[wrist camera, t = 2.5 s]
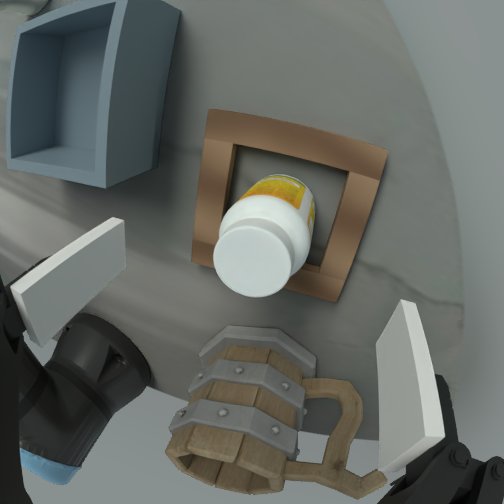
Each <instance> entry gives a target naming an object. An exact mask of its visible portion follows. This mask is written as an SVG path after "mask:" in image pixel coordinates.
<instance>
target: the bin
mask: <svg viewBox="0 0 504 504" xmlns="http://www.w3.org/2000/svg"><path fill="white" fill-rule="evenodd" d="M180 13H181V10H179V9H177V8H175V7H173V6H171V5H169V4H167V3H165V2H164V1H162V0H80V1H77V2H74V3H71V4H68V5H66V6H63V7H60V8H58V9H55V10H53V11H50V12H48V13H45V14H43V15H41V16H38V17H36V18H34V19H32V20H30V21H28V22H25V23H23V24H21V25H19V26H17V30H16V35H15V40H14V46H13V51H12V57H11V64H10V72H9V81H8V92H7V107H6V157H7V168H9V169H14V170H19V171H24V172H29V173H34V174H39V175H44V176H49V177H54V178H59V179H64V180H68V181H73V182H78V183H82V184H87V185H92V186H96V187H101V188H105V189H106V188H108V187H110V186H113V185H115V184H117V183H119V182H122V181H124V180H126V179H129V178H131V177H133V176H136V175H138V174H141V173H143V172H145V171H148V170H150V169H153V168H155V167H158V156H159V145H160V135H161V125H162V117H163V109H164V101H165V94H166V87H167V80H168V74H169V68H170V62H171V57H172V51H173V46H174V41H175V36H176V31H177V26H178V22H179V17H180Z"/></svg>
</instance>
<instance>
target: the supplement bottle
mask: <svg viewBox="0 0 504 504" xmlns="http://www.w3.org/2000/svg"><path fill="white" fill-rule="evenodd" d="M315 212H316V208H315V201H314V198H313V195H312V193H311V192H310V190H309V189H308V187H307V186H306V185H305V184H304V183H302V182H301V181H300V180H298V179H296V178H294V177H291V176H288V175H281V174H276V175H270V176H267V177H265V178H263V179H261V180H260V181H258V182H257V183H256V184H255V185H254V186H253V187H251V188H250V189H249V190H248V191H247V192H246V193H245V194H244V195H243V196H242V197H241V198H240V199H239V200H238V201H237V202H236V203H235V204H234V205H233V206H232V207H231V208H230V209H229V210H228V211H227V213H226V214H225V216H224V218H223V220H222V222H221V225H220V230H219V240H218V242H217V244H216V246H215V249H214V254H213V261H214V266H215V269H216V272H217V274H218V276H219V277H220V279H221V280H222V281H223V282H224V283H225V285H227V286H228V287H229V288H230V289H232V290H233V291H235V292H237V293H239V294H242V295H244V296H248V297H265V296H269V295H272V294H274V293H276V292H278V291H279V290H280V289H282V288H283V286H284V285H285V284H286V283H287V281H288V279H289V277H290V276H292V275H293V274H295V273H296V272H297V271H298V270H299V269H300V268H301V267H302V265H303V264H304V262H305V261H306V259H307V256H308V253H309V250H310V245H311V239H312V233H313V227H314V221H315Z"/></svg>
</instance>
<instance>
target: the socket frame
mask: <svg viewBox="0 0 504 504" xmlns="http://www.w3.org/2000/svg"><path fill="white" fill-rule="evenodd" d="M237 144H239V145H244V146H249V147H254V148H259V149H264V150H268V151H273V152H277V153H282V154H286V155H290V156H294V157H298V158H302V159H306V160H310V161H314V162H318V163H322V164H325V165H329V166H332V167H336V168H340V169H343V170H346V171H348V173H347V177H346V181H345V184H344V188H343V191H342V195H341V198H340V202H339V205H338V209H337V212H336V215H335V219H334V222H333V225H332V229H331V232H330V235H329V238H328V241H327V245H326V248H325V251H324V254H323V257H322V260H321V263H320V266H315V265H312V264H308V263H304V264H303V265H302V267H301V268H300V269H299V270H298V271H297V272H296V273H295V274H293V275H292V276H290V277H289V279H288V281H287V283H286V284H285V285H284V286H283V288H284V289H287V290H291V291H295V292H298V293H302V294H305V295H309V296H313V297H317V298H320V299H324V300H328V301H331V302H335V303H336V302H337V299H338V297H339V295H340V292H341V290H342V287H343V285H344V282H345V280H346V277H347V275H348V272H349V270H350V267H351V264H352V262H353V259H354V256H355V254H356V251H357V248H358V245H359V243H360V240H361V237H362V234H363V231H364V229H365V226H366V223H367V220H368V217H369V214H370V211H371V208H372V205H373V201H374V198H375V195H376V192H377V189H378V185H379V182H380V179H381V175H382V172H383V168H384V165H385V161H386V158H387V154H388V150H386V149H384V148H381V147H378V146H375V145H372V144H368V143H365V142H362V141H359V140H356V139H352V138H349V137H345V136H342V135H338V134H335V133H331V132H327V131H323V130H319V129H316V128H311V127H307V126H303V125H299V124H295V123H290V122H285V121H281V120H276V119H271V118H266V117H260V116H255V115H249V114H243V113H237V112H231V111H224V110H217V109H209V111H208V117H207V124H206V131H205V138H204V145H203V152H202V160H201V168H200V176H199V184H198V193H197V202H196V212H195V222H194V233H193V244H192V256H191V262H194V263H197V264H201V265H204V266H207V267H211V268H214V269H215V266H214V261H213V254H214V249H215V246H216V244H217V242H218V240H219V230H220V225H221V222H222V220H223V218H224V216H225V214H226V213H227V206H228V199H229V193H230V186H231V180H232V174H233V168H234V161H235V155H236V149H237Z"/></svg>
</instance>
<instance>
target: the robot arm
mask: <svg viewBox="0 0 504 504" xmlns="http://www.w3.org/2000/svg"><path fill="white" fill-rule="evenodd" d="M126 268H127V267H126V251H125V227H124V220H121V219H118V218H114V217H112V218H110V219H108V220H107V221H105V222H103V223H102V224H100V225H99V226H97V227H95V228H94V229H92V230H91V231H89V232H87V233H86V234H84V235H83V236H81V237H80V238H78V239H76V240H75V241H73V242H72V243H70V244H69V245H67V246H66V247H64V248H63V249H61V250H60V251H58V252H57V253H55V254H54V255H52V256H49V257H47V258H44V259H42V260H41V261H39V262H38V263H36V264H35V266H32V267H31V268H29V269H28V271H25V272H24V273H23V274H21V275H20V276H19V277H17V278H16V279H15V280H13V281H12V282H11V283H9V284H8V285H7V286H5V287H4V285H3V282H2V279H1V276H0V504H33V503H32V501H31V499H30V497H29V495H28V494H27V492H26V490H25V488H24V484H23V476H22V469H21V465H22V466H24V467H25V468H27V469H28V470H30V471H31V472H33V473H34V474H36V475H38V476H39V477H42V478H43V479H45V480H47V481H49V482H51V483H53V484H56V485H65V484H67V483H68V482H69V481H70V480H71V479H72V477H73V476H74V475H75V473H76V472H77V471H78V470H80V469H81V467H82V466H81V465H82V463H83V462H84V460H85V458H86V457H87V455H88V454H89V452H90V450H91V449H92V447H93V446H94V444H95V443H96V441H97V439H98V438H99V436H100V435H101V433H102V431H103V430H104V428H105V427H106V425H107V423H108V422H109V420H110V419H111V418H112V416H113V415H114V413H115V412H117V411H118V410H120V409H121V408H122V407H124V406H125V405H126V404H128V403H129V402H131V401H132V400H133V399H135V398H136V397H137V396H139V395H140V394H141V393H142V392H143V391H144V389H145V388H146V386H147V385H148V383H149V381H150V370H149V367H148V365H147V363H146V361H145V359H144V357H143V356H142V354H141V353H140V352H139V350H138V349H137V348H136V347H135V345H134V344H133V343H132V342H131V341H130V340H129V339H128V338H127V337H126V336H125V335H124V334H122V333H121V332H120V331H119V330H118V329H116V328H115V327H114V326H112V325H111V324H109V323H108V322H106V321H104V320H103V319H101V318H99V317H96V316H94V315H90V314H85V313H81V314H77V313H78V312H79V311H80V310H81V309H82V308H83V307H84V306H85V305H86V304H87V303H88V302H89V301H90V300H92V299H93V298H94V297H95V296H96V295H97V294H98V293H99V292H100V291H101V290H102V289H104V288H105V287H106V286H107V285H108V284H109V283H110V282H111V281H112V280H114V279H115V278H116V277H117V276H118V275H119V274H120V273H121V272H123V271H124V270H125V269H126ZM76 314H77V315H76ZM75 315H76V316H75ZM73 316H74V317H73ZM72 317H73V318H72ZM71 318H72V319H71ZM70 319H71V320H70ZM69 320H70V321H69ZM68 321H69V322H68ZM67 322H68V323H67ZM66 323H67V324H66ZM65 324H66V326H65V327H64V329H63V332H62V334H61V336H60V338H59V340H58V343H57V345H56V348H55V350H54V352H53V355H52V357H51V358H50V360H49V361H48V362H47V363H46V364H45V366H42V365H41V364H40V362H39V361H38V359H37V358H36V357H35V355H34V354H33V353H32V351H31V350H30V349H29V347H28V346H27V344H26V343H25V342H24V336H23V334H22V333H23V332H24V331H25V330H27V333H28V335H29V337H30V339H31V340H32V341H33V342H34V343H36V344H37V345H39V346H40V347H41V348H42V347H43V346H44V345H45V344H46V343H47V342H48V341H49V340H50V339H51V338H52V337H53V336H54V335H55V334H56V333H57V332H58V331H59V330H60V329H61V328H62V327H63V326H64V325H65ZM376 354H377V368H378V388H379V461H378V471H383V472H397V471H399V470H400V469H402V468H403V467H405V466H406V474H405V475H403V476H402V477H400V478H398V479H397V480H395V481H393V482H392V483H391V484H390V485H391V486H392V485H394V484H395V485H394V486H393V487H392V488H391V489H390V491H389V492H388V493H387V494H386V495H385V496H384V497H383V498H382V499H381V500H380V501H379V502H378V503H377V504H502V502H503V498H504V459H502V458H501V457H498V456H495V457H492V458H491V459H489V460H488V461H486V462H482V461H479V460H476V459H473V458H471V454H470V451H469V449H468V448H467V447H466V446H465V445H464V444H462V443H461V442H459V441H458V435H457V429H456V423H455V417H454V412H453V409H452V402H451V399H450V392H449V388H448V385H447V383H446V382H445V380H444V378H443V376H442V375H437V374H434V371H433V366H432V362H431V358H430V354H429V350H428V346H427V342H426V338H425V334H424V331H423V327H422V324H421V320H420V317H419V314H418V310H417V307H416V304H415V303H412V302H409V301H405V300H400V302H399V304H398V306H397V307H396V309H395V311H394V313H393V315H392V317H391V318H390V320H389V322H388V324H387V326H386V327H385V329H384V331H383V332H382V334H381V336H380V338H379V339H378V341H377V343H376Z"/></svg>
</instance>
